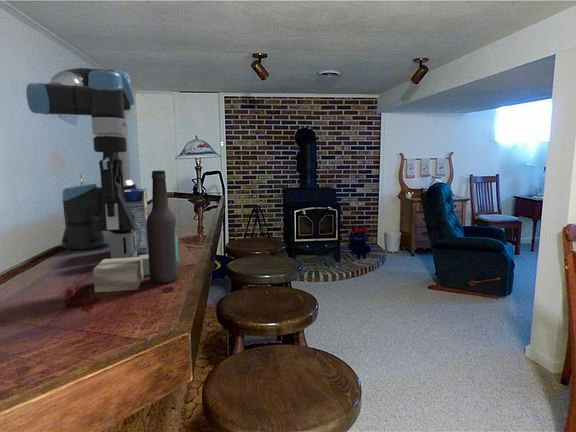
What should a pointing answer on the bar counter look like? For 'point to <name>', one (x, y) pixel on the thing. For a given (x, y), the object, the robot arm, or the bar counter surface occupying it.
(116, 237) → the grey black handled cylinder
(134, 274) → the maple block
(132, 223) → the phone stand
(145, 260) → the sage cube
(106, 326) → the bar counter surface
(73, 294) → the bar counter surface
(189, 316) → the bar counter surface
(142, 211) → the beverage box
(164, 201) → the beer bottle
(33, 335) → the bar counter surface
